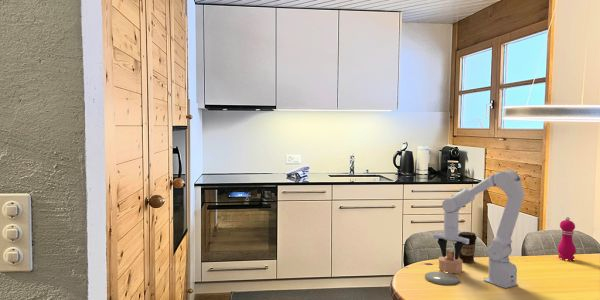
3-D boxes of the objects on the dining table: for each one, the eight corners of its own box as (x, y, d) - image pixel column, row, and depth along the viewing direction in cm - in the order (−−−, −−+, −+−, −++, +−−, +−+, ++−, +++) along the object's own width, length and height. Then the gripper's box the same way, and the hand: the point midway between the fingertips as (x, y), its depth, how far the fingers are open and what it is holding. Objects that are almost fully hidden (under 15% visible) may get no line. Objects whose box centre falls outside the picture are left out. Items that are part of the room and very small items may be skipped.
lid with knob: (467, 271, 169) (467, 252, 168) (451, 275, 164) (452, 256, 164) (448, 265, 177) (449, 247, 177) (433, 268, 172) (433, 250, 172)
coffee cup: (479, 264, 179) (480, 235, 178) (461, 264, 179) (461, 235, 179) (471, 258, 187) (472, 231, 187) (454, 258, 188) (454, 230, 187)
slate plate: (466, 281, 157) (466, 279, 157) (443, 287, 151) (443, 285, 151) (440, 271, 168) (440, 269, 168) (417, 276, 162) (417, 274, 162)
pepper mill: (575, 258, 188) (576, 216, 188) (576, 262, 182) (577, 219, 182) (557, 256, 192) (558, 214, 192) (557, 259, 186) (558, 217, 186)
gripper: (471, 227, 168) (471, 259, 169) (438, 222, 178) (437, 252, 178) (466, 230, 163) (465, 262, 163) (431, 224, 172) (431, 255, 173)
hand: (450, 257), depth 170 cm, fingers open, 5 cm apart
